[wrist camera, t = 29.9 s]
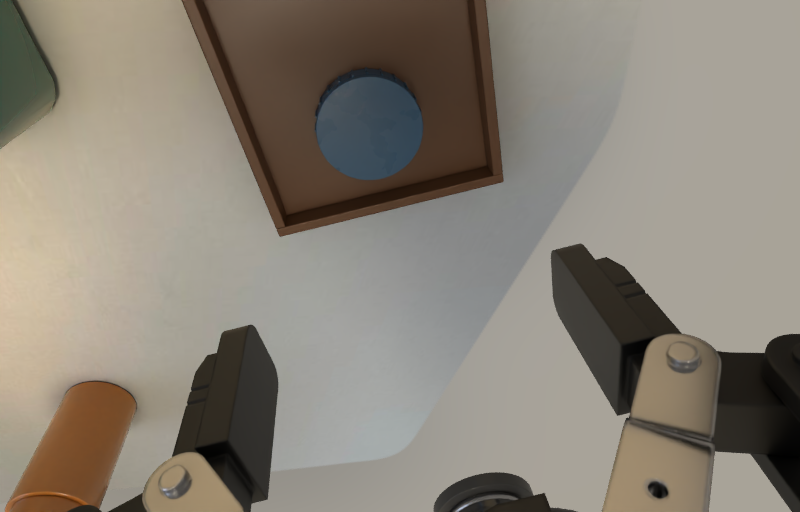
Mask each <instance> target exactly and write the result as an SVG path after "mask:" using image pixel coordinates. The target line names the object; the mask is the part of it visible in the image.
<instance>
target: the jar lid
mask: <svg viewBox="0 0 800 512" xmlns="http://www.w3.org/2000/svg"><path fill="white" fill-rule="evenodd" d="M416 100H417V99H416V97H415V95H414V93H411V91H410V90H409V88H408V87H407V84H406V83H405V82H404V83H403V82H402V81H401V80H400V79H399V78H397V77H396V76H395V74H390V73H388V72H385V71H382V69H380V68H379V70H377V69H367V67H365V69H358V70H354V71H353V70H351V72H348V73H346V74H344V75H342V76H338V78H337V79H336V80H335V81H334V82H333V83H331V84H330V85H327V89H326V90H325V92H324V94H323V95H322V97H320V98H319V104H318V109H317V110H316V111H315V118H316V123H315V132H316V136H317V141H318V145H319V147H320V150H321V152H322V154H323V155H324V157H325V158H326V160H327V161H328V162H329V163H330V164H331V165H332V166H333V167H334V168H335V169H337V170H338V171H339V172H341V173H343V174H345V175H347V176H349V177H352V178H356V179H361V180H377V179H382V178H386V177H389V176H391V175H393V174H395V173H397V172H399V171H400V170H401V169H403V168H404V167H405V166H406V165H407V164H408V163H409V162H410V161H411V160H412V159H413V157H414V156H415V154H416V153H417V151H418V149H419V146H420V144H421V140H422V136H423V120H422V115H421V113H422V111H421V109H420V107H419V105H418V104H417V102H416Z"/></svg>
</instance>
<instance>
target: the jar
mask: <svg viewBox="0 0 800 512" xmlns="http://www.w3.org/2000/svg"><path fill="white" fill-rule="evenodd" d="M136 408H137V407H136V402H135V400H134V398H133V397H132V396H131V395H130V393H128V392H127V391H126V390H124V389H123V388H121V387H119V386H116V385H113V384H110V383H105V382H85V383H81V384H78V385H75V386H74V387H72V388H70V389H69V390H68V391H67V392H66V394H65V396H64V398H63V400H62V401H61V403H60V405H59V407H58V409H57V411H56V413H55V415H54V416H53V418H52V420H51V422H50V424H49V426H48V428H47V430H46V432H45V433H44V435H43V437H42V439H41V441H40V443H39V445H38V447H37V448H36V450H35V452H34V454H33V456H32V458H31V460H30V462H29V464H28V465H27V467H26V469H25V471H24V473H23V475H22V477H21V479H20V480H19V482H18V484H17V486H16V488H15V490H14V492H13V494H12V495H11V497H10V499H9V501H8V503H7V505H6V508H5V512H67V511H69V510H71V509H73V508H75V507H78V506H82V505H93V506H95V507H97V508H98V509H100V506H101V504H102V501H103V498H104V495H105V493H106V490H107V488H108V485H109V482H110V479H111V477H112V474H113V471H114V469H115V466H116V463H117V461H118V458H119V455H120V453H121V450H122V447H123V445H124V442H125V439H126V437H127V434H128V431H129V429H130V426H131V423H132V421H133V418H134V415H135V412H136Z"/></svg>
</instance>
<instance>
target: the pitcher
mask: <svg viewBox="0 0 800 512" xmlns="http://www.w3.org/2000/svg"><path fill="white" fill-rule="evenodd" d="M55 99H56V96H55V87H54V80H53V78H52V76H51V75H50V73H49V71H48V69H47V67H46V65H45V63H44V61H43V59H42V57H41V55H40V54H39V52H38V50H37V48H36V46H35V44H34V42H33V40H32V38H31V36H30V34H29V33H28V31H27V29H26V27H25V25H24V23H23V21H22V19H21V17H20V15H19V13H18V12H17V10H16V8H15V6H14V4H13V2H12V0H0V149H1V148H2V147H4V146H5V145H6V144H8V143H9V142H10V141H12V140H13V139H14V138H16V137H17V136H18V135H20V134H21V133H23V132H24V131H25V130H27V129H28V128H29V127H31V126H32V125H33V124H35V123H36V122H37V121H39V120H40V119H41V118H43V117H44V116H45V115H47V114H48V113H49V112H50V111H51V108H52V106H53V103H54V101H55Z"/></svg>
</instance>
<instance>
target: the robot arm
mask: <svg viewBox="0 0 800 512" xmlns="http://www.w3.org/2000/svg"><path fill="white" fill-rule="evenodd" d="M551 267H552V286H553V299H554V303H555V307H556V310H557V313H558V315H559V317H560V319H561V320H562V323H563V324H564V326H565V328H566V329H567V331H568V333H569V335H570V336H571V338H572V340H573V341H574V343H575V345H576V346H577V348H578V350H579V351H580V353H581V355H582V357H583V358H584V360H585V362H586V363H587V365H588V367H589V368H590V370H591V372H592V374H593V375H594V377H595V379H596V380H597V382H598V384H599V385H600V387H601V389H602V391H603V392H604V394H605V396H606V397H607V399H608V400H609V402H610V404H611V406H612V407H613V409H614V411H615V413H616V414H617V415H622V414H626V413H630V416H629V418H626V420H625V423H624V426H623V430H622V434H621V438H620V442H619V446H618V450H617V453H616V457H615V461H614V465H613V469H612V473H611V477H610V481H609V485H608V489H607V493H606V497H605V501H604V505H603V509H602V512H709V503H710V494H711V484H712V474H713V464H714V455H715V451H718V452H732V453H749V454H751V455H752V456H753V458H754V459H755V460H756V462H757V463H758V465H759V466H760V468H761V469H762V470H763V472H764V473H765V475H766V476H767V477H768V479H769V480H770V482H771V483H772V484H773V486H774V487H775V488H776V490H777V491H778V493H779V494H780V496H781V497H782V498H783V500H784V501H785V503H786V504H787V505H788V507H789V508H790V510H791V511H792V512H800V334H789V335H783V336H779V337H777V338H774V339H773V340H772V341H770V342H769V344H768V345H767V347H766V350H765V353H729V352H719V351H716V350H715V349H714V348H713V347H712V346H711V345H710V344H708V343H707V342H705V341H703V340H701V339H699V338H697V337H694V336H691V335H686V334H682V333H681V332H680V331H679V330H678V329H677V328H676V326H675V325H674V324H673V323H672V322H671V321H670V320H669V318H668V317H667V316H666V315H665V314H664V313H663V311H662V310H661V309H660V308H659V307H658V305H657V304H656V303H655V302H654V301H653V300H652V299H651V297H650V296H649V295H648V294H646V293H645V290H644V289H643V288H642V287H641V286H640V285H639V283H636V280H635V279H634V277H633V276H632V275H631V274H630V273H629V272H628V271H627V269H625V267H624V266H622V265H620V264H618V263H616V262H614V261H613V260H611V259H609V258H607V257H605V258H601V259H598V260H595V259H594V258H593V256H592V255H591V254H590V253H589V251H588V250H587V249H586V248H585V247H584V245H582V244H577V245H573V246H568V247H564V248H561V249H556V250H553V251H552V253H551ZM191 390H192V392H190V394H189V398H188V401H187V403H188V406H186V409H185V412H184V416H183V419H182V423H181V427H180V430H179V434H178V437H177V441H176V445H175V448H174V452H173V455H172V458H170V459H168V460H167V461H165V462H164V463H163V464H161V465H160V466H159V467H158V468H157V469H156V470H155V471H154V472H153V474H152V475H151V476H150V478H149V479H148V481H147V483H146V485H145V487H144V491H143V493H142V494H140V495H138V496H137V497H135V498H133V499H131V500H129V501H127V502H125V503H124V504H122V505H120V506H118V507H116V508H114V509H112V510H111V511H109V512H250V511H251V503H255V502H259V501H263V500H267V499H268V489H269V478H270V468H271V458H272V447H273V436H274V426H275V415H276V405H277V394H278V377H277V372H276V368H275V365H274V363H273V361H272V359H271V357H270V355H269V353H268V351H267V349H266V347H265V345H264V343H263V341H262V340H261V338H260V336H259V334H258V332H257V330H256V328H255V327H254V326H253V325H248V326H244V327H240V328H236V329H232V330H228V331H224V332H223V333H222V335H221V338H220V342H219V347H218V351H217V353H215V354H211V355H207V357H206V358H205V360H204V361H203V362H202V364H201V365H200V367H199V368H198V369H197V371H196V373H195V376H194V380H193V383H192V387H191ZM67 512H101V511H100V510H99V509H98V508H97V507H95V506H93V505H82V506H78V507H75V508H73V509H71V510H69V511H67ZM450 512H576V511H573V510H567V509H560V508H550V506H549V503H548V501H547V498H546V496H545V494H544V493H543V494H538V495H535V496H530V497H526V498H521V497H519V496H518V495H516V494H514V493H510V492H505V491H490V492H484V493H480V494H476V495H473V496H470V497H468V498H466V499H464V500H462V501H461V502H459V503H458V504H456V505H455V506H454V507H453V508H452V509H451V510H450Z"/></svg>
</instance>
